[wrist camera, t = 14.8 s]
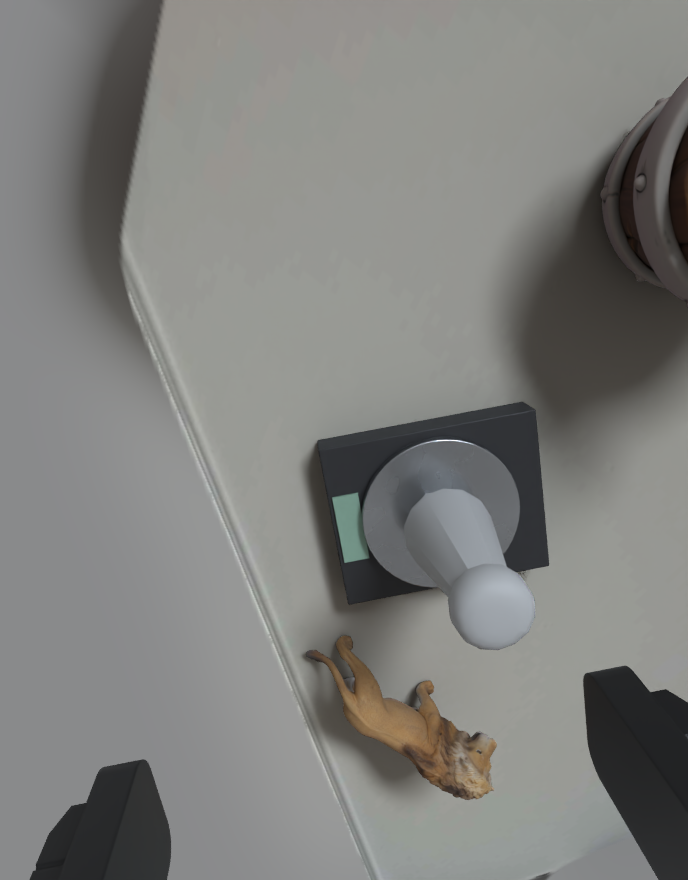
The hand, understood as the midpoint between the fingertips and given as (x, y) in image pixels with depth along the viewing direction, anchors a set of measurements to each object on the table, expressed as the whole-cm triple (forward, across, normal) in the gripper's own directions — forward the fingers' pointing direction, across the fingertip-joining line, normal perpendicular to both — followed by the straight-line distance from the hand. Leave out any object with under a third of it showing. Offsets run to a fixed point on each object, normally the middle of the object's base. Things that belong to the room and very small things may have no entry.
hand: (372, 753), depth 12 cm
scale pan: (+31, -7, +10) cm, 34 cm away
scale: (+34, -7, +10) cm, 36 cm away
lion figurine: (+34, -2, +25) cm, 42 cm away
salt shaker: (+31, -7, +10) cm, 33 cm away
